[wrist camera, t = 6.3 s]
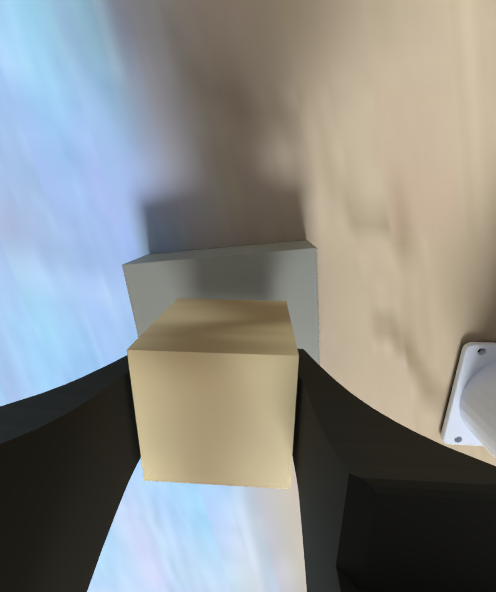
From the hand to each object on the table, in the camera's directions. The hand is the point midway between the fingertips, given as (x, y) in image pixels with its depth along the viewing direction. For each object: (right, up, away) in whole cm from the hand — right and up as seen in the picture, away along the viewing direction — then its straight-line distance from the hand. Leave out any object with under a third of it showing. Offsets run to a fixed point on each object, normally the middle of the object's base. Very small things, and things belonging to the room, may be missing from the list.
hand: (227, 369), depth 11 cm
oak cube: (0, +1, +2) cm, 2 cm away
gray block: (0, +1, +9) cm, 9 cm away
